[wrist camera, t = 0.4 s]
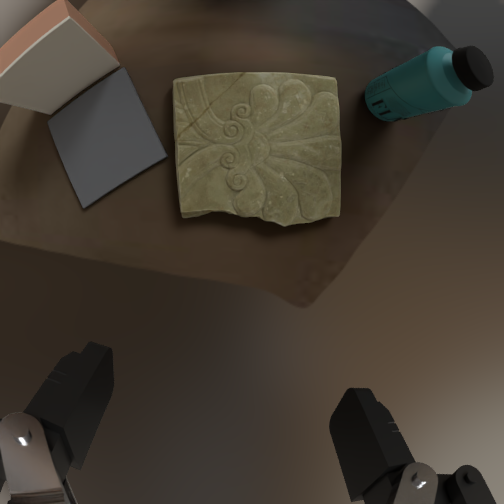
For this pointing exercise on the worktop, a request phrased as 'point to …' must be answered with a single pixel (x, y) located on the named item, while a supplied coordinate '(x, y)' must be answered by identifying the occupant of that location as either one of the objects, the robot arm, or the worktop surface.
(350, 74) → the worktop surface
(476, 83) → the beverage bottle
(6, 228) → the worktop surface
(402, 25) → the worktop surface
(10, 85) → the terracotta tile
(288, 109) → the decorative tile
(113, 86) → the mat
